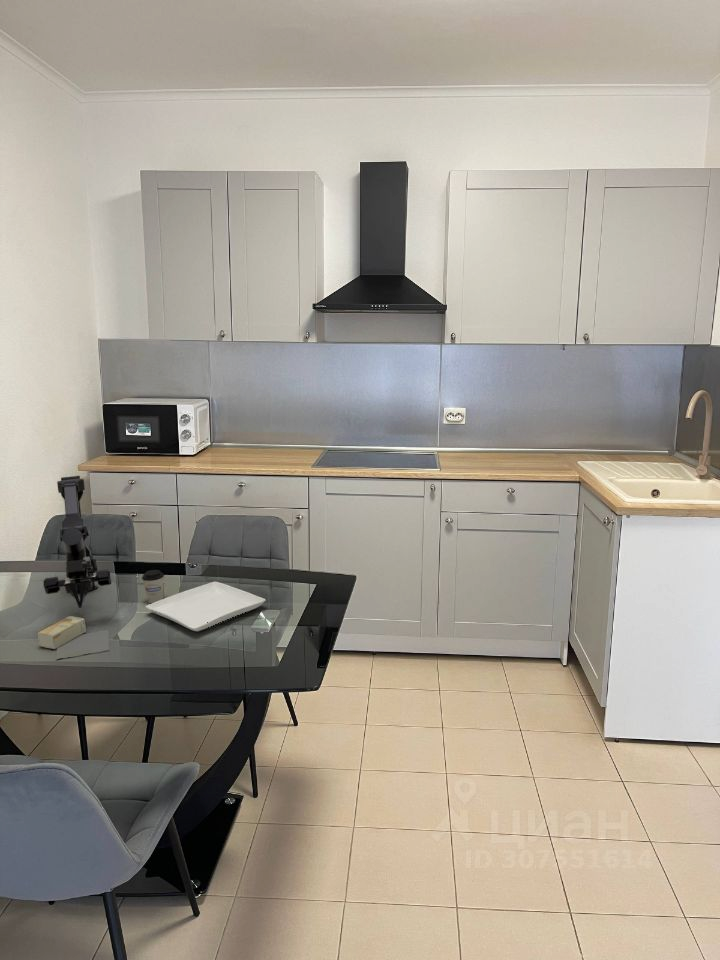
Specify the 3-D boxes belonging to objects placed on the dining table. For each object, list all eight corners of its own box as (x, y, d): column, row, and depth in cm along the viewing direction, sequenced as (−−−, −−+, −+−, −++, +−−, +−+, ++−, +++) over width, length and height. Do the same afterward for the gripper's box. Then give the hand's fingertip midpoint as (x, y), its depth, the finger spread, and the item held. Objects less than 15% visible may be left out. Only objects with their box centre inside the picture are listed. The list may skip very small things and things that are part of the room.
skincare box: (85, 618, 217) (53, 635, 206) (87, 631, 218) (55, 649, 207) (68, 615, 219) (36, 632, 209) (70, 628, 220) (38, 646, 210)
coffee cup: (148, 597, 243) (145, 568, 241) (169, 596, 243) (166, 568, 241) (141, 605, 236) (138, 576, 234) (163, 605, 236) (159, 576, 234)
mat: (58, 639, 214) (58, 638, 214) (108, 630, 219) (108, 629, 219) (56, 660, 201) (55, 659, 201) (109, 650, 206) (109, 649, 206)
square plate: (268, 609, 231) (267, 598, 230) (194, 640, 211) (193, 627, 210) (216, 589, 249) (215, 578, 248) (144, 616, 229) (143, 604, 229)
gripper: (39, 552, 215) (42, 601, 208) (106, 543, 221) (111, 590, 214) (44, 569, 224) (47, 616, 217) (109, 560, 230) (114, 606, 223)
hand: (80, 607), depth 217 cm, fingers closed
